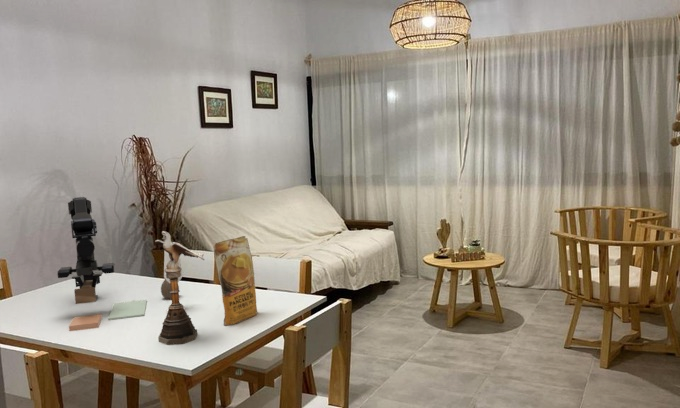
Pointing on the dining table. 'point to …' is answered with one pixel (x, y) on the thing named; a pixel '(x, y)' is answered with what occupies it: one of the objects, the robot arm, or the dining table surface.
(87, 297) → the brown wooden block
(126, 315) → the rest board
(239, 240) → the pancake mix bag
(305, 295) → the dining table surface
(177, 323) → the bird statue
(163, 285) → the vase
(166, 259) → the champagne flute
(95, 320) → the tile
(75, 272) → the robot arm
